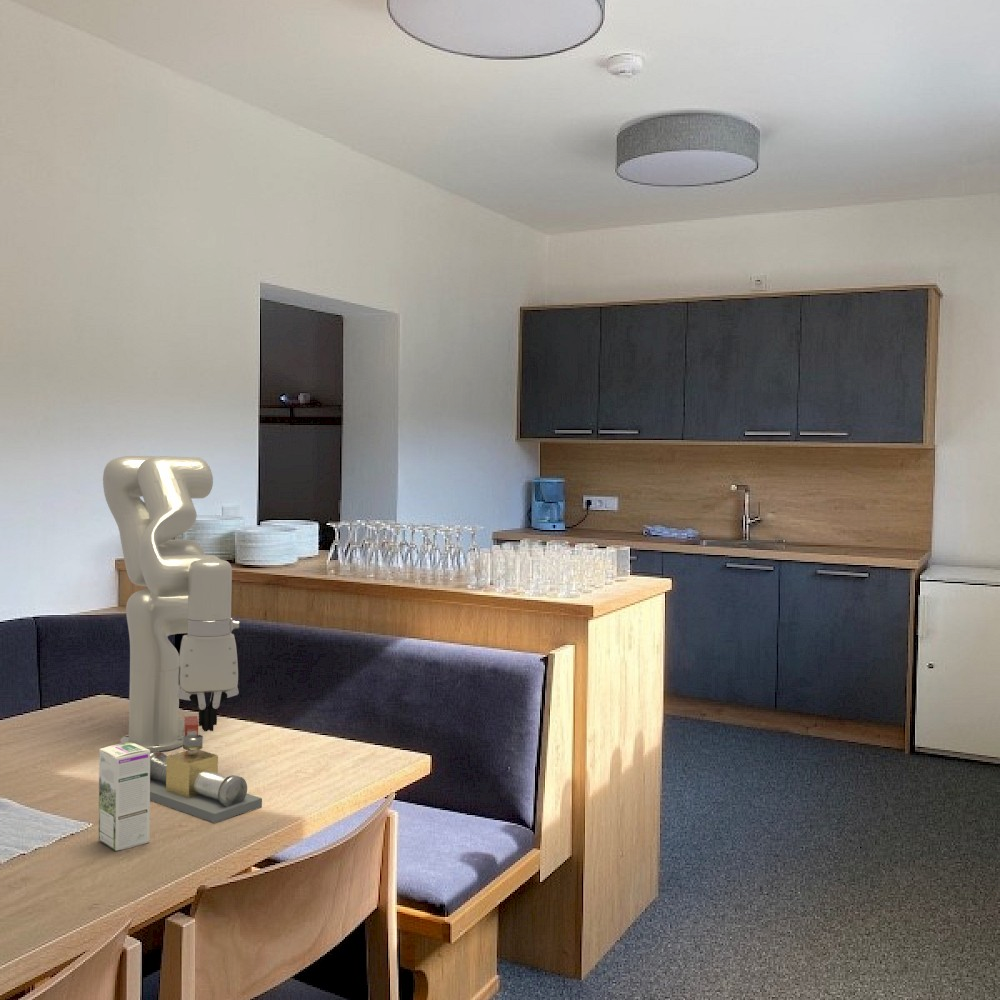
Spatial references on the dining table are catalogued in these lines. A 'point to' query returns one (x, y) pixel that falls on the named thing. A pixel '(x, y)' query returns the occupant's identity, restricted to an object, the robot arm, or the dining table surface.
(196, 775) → the valve pipe
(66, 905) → the dining table surface
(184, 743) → the valve lever
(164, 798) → the slate board
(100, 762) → the syrup box
